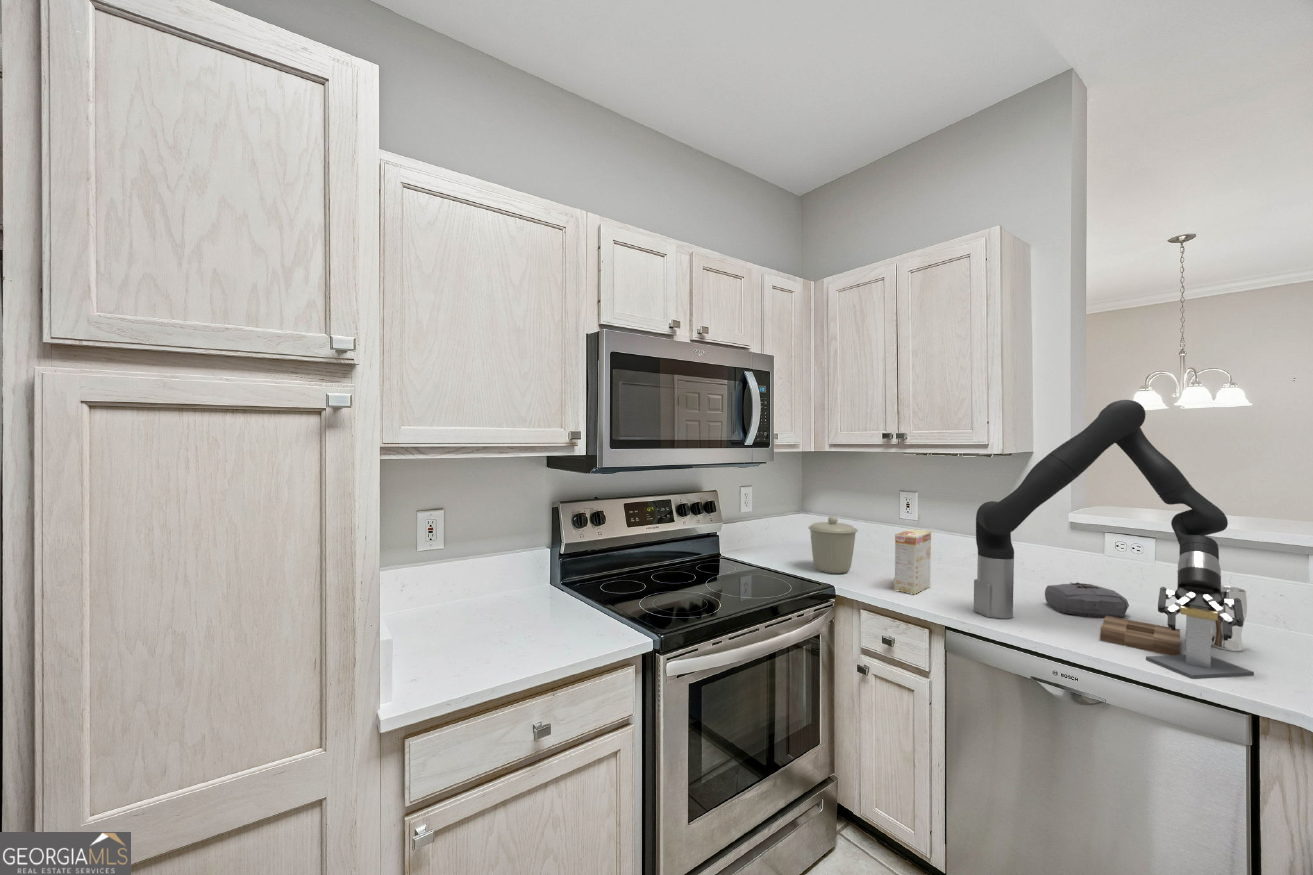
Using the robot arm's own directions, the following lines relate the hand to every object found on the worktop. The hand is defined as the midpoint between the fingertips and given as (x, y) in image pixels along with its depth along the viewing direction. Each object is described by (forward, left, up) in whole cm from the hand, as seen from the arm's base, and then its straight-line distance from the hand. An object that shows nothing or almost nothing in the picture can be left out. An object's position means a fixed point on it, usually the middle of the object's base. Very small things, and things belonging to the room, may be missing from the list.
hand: (1199, 633), depth 125 cm
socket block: (+4, +17, -8) cm, 19 cm away
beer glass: (+22, +11, -8) cm, 26 cm away
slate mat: (+1, +1, -8) cm, 8 cm away
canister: (-45, +93, -8) cm, 104 cm away
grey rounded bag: (+12, +40, -9) cm, 43 cm away
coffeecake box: (-28, +67, -8) cm, 73 cm away
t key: (+1, +1, -7) cm, 8 cm away
